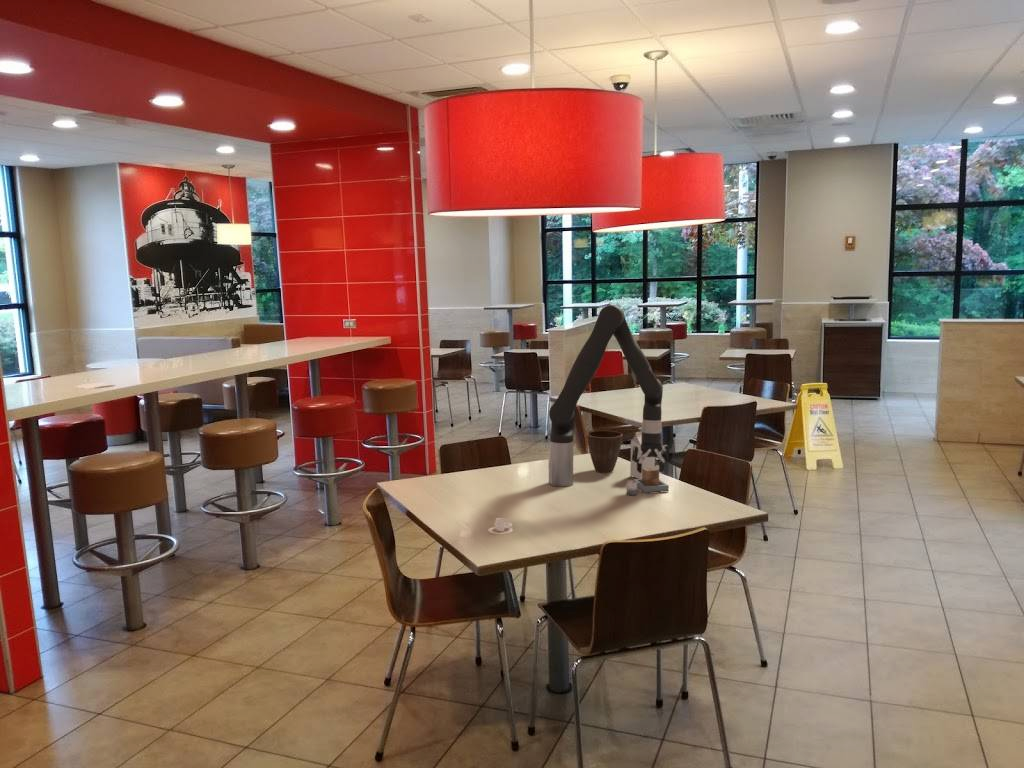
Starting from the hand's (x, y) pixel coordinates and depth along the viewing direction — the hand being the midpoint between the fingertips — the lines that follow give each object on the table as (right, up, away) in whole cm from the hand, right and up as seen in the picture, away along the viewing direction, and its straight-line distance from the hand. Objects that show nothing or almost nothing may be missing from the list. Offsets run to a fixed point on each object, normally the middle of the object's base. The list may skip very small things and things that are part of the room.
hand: (650, 472), depth 318 cm
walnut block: (0, -6, +1) cm, 6 cm away
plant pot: (-14, -3, +30) cm, 34 cm away
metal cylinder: (-8, -8, -8) cm, 14 cm away
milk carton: (0, -4, +19) cm, 19 cm away
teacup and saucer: (-54, -14, -52) cm, 76 cm away
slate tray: (0, -7, +1) cm, 7 cm away
